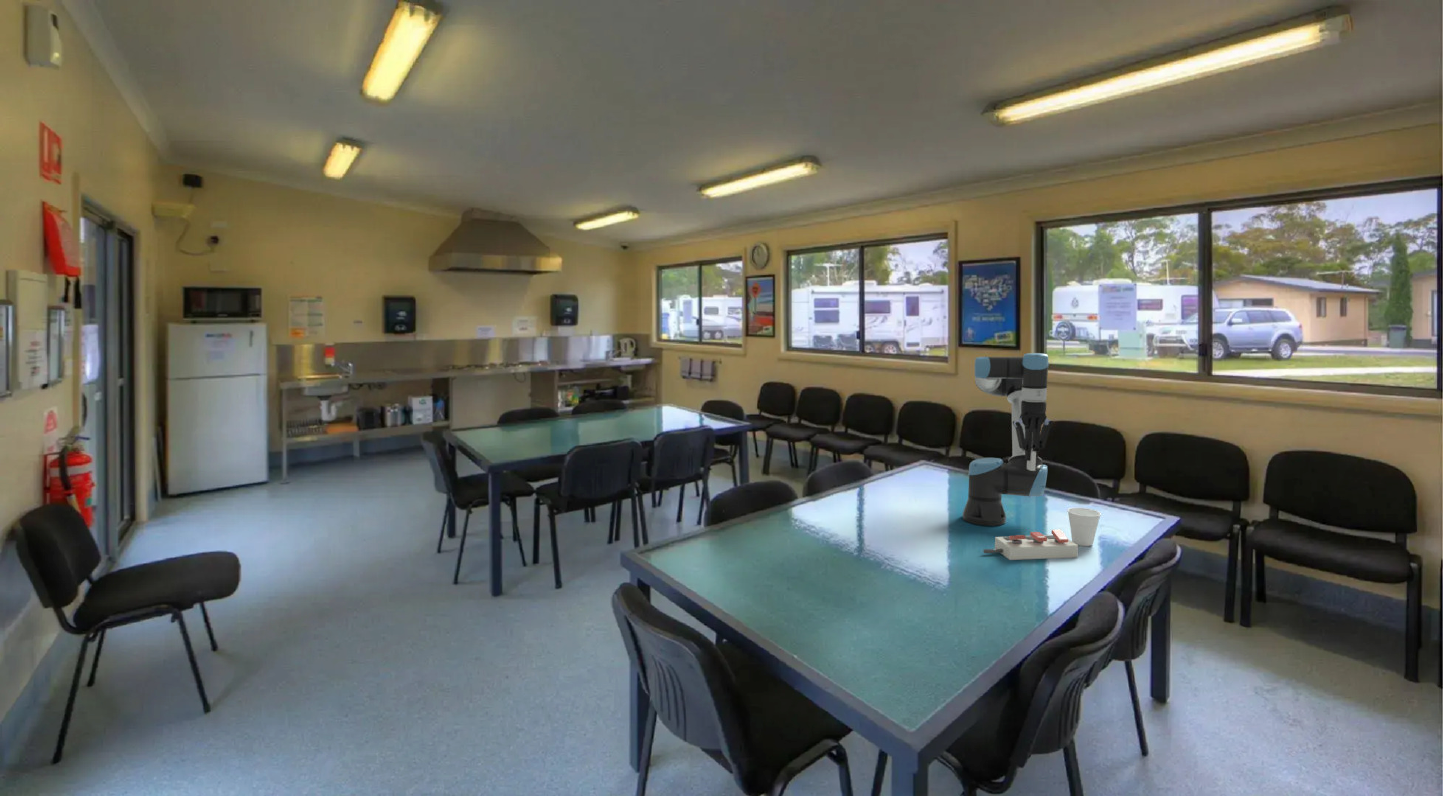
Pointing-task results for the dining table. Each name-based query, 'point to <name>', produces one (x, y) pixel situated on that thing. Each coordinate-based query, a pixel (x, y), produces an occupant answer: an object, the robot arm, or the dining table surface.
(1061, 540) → the rocker
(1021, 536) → the rocker
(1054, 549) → the strip
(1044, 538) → the rocker
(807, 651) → the dining table surface
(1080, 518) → the cup
